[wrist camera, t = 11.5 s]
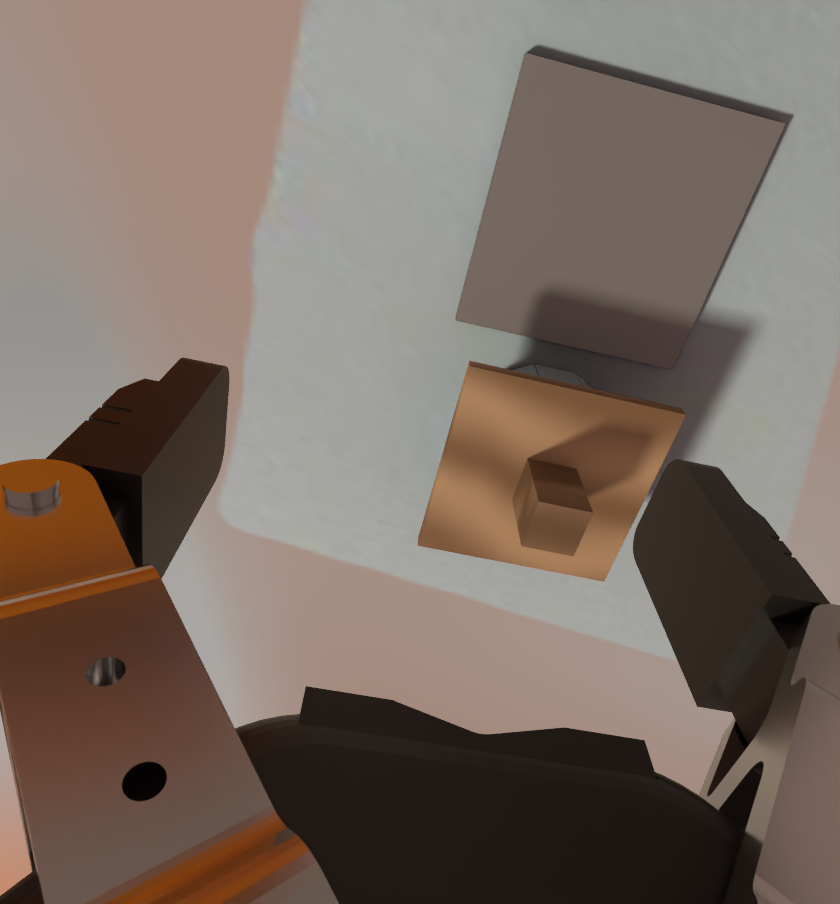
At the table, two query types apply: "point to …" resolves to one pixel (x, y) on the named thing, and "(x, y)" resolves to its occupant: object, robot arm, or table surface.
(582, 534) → the lid
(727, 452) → the table surface
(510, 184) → the mat
